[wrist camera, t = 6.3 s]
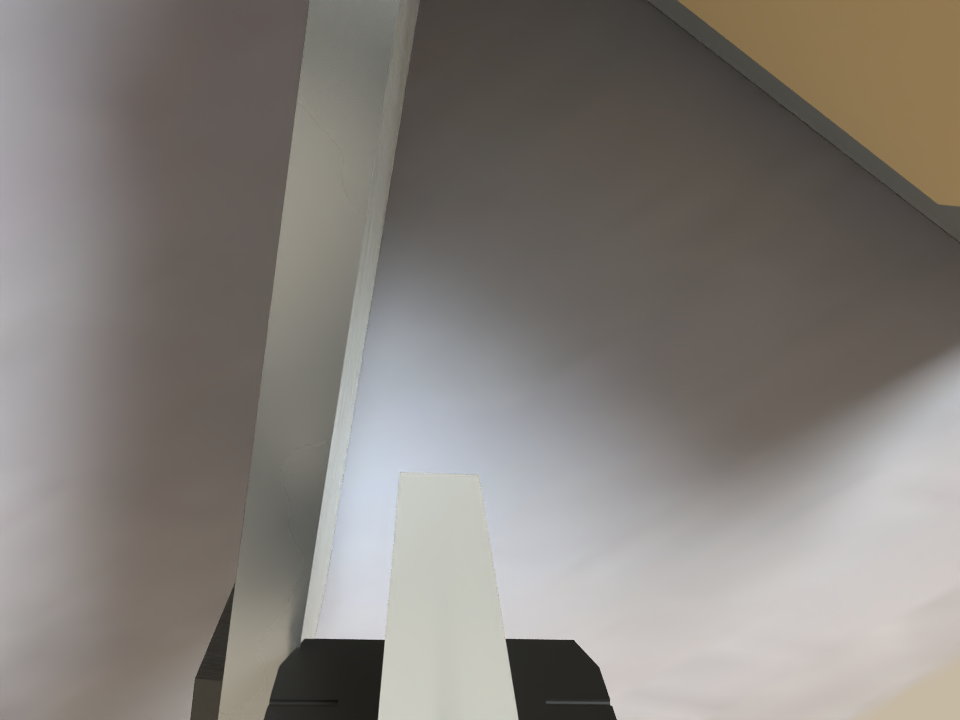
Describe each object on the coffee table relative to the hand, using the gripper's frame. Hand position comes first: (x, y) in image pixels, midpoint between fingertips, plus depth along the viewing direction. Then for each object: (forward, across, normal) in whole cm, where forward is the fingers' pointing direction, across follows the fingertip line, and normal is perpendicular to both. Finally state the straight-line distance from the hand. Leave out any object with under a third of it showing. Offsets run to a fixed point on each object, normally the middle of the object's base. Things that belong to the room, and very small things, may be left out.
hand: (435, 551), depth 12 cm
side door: (+4, -2, +4) cm, 6 cm away
